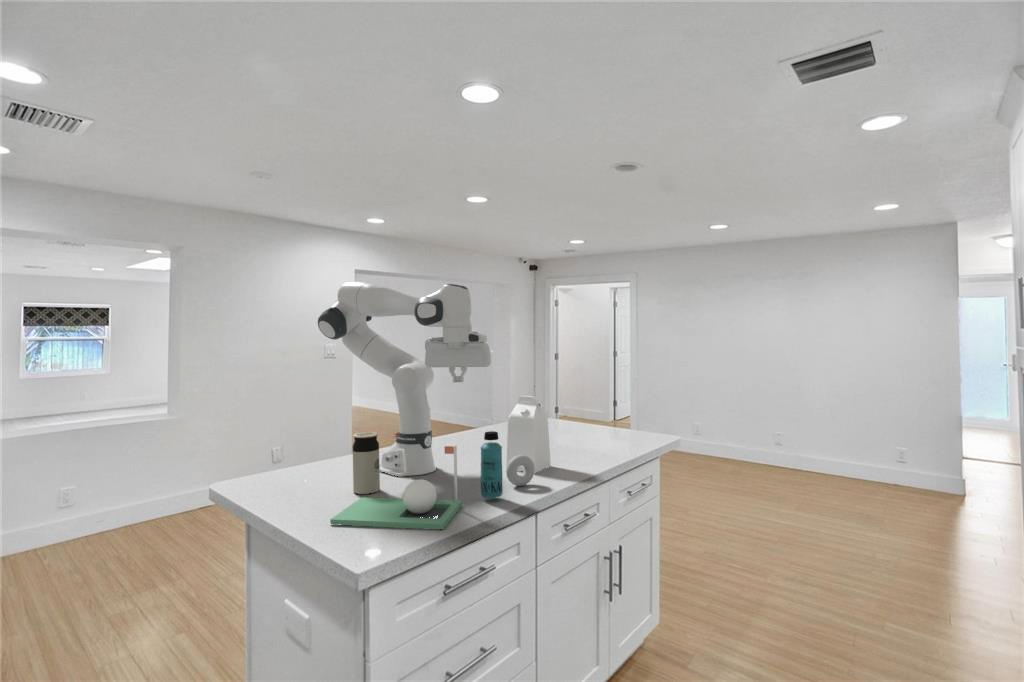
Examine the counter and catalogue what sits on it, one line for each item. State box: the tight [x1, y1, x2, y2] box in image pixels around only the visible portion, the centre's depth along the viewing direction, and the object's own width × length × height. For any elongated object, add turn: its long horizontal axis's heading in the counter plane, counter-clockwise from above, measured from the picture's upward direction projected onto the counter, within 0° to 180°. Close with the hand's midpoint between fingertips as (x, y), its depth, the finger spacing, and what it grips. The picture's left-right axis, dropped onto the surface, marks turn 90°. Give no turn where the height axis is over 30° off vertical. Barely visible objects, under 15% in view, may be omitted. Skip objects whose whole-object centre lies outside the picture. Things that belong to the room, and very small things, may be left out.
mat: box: [330, 445, 463, 531], centre depth 137 cm, size 30×18×18 cm, turn 81°
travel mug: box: [352, 431, 381, 495], centre depth 159 cm, size 8×8×18 cm
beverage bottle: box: [479, 430, 504, 499], centre depth 148 cm, size 6×7×20 cm
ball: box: [402, 479, 437, 514], centre depth 138 cm, size 9×9×9 cm
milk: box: [506, 395, 552, 474], centre depth 184 cm, size 12×12×26 cm
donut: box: [505, 455, 535, 487], centre depth 162 cm, size 10×4×10 cm, turn 119°
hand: (458, 382), depth 155 cm, fingers closed
